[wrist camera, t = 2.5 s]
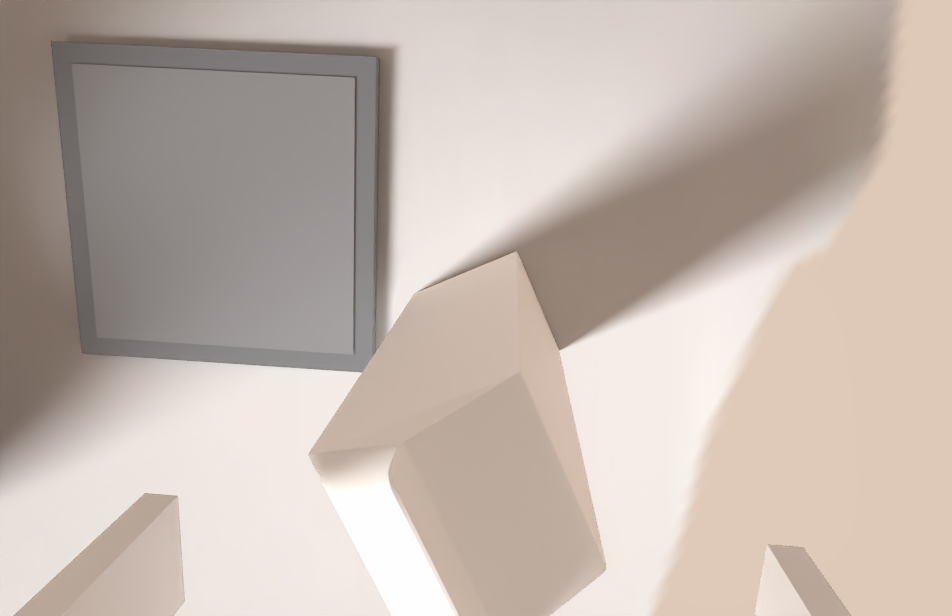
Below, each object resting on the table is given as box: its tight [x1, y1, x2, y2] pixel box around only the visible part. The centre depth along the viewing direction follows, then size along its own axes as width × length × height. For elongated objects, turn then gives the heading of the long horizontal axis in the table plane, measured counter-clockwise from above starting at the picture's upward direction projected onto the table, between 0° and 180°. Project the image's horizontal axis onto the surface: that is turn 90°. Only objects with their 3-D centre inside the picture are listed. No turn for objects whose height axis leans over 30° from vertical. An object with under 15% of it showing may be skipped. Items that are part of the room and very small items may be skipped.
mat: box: [51, 41, 379, 372], centre depth 34 cm, size 16×16×1 cm
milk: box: [309, 251, 606, 616], centre depth 25 cm, size 6×6×22 cm
